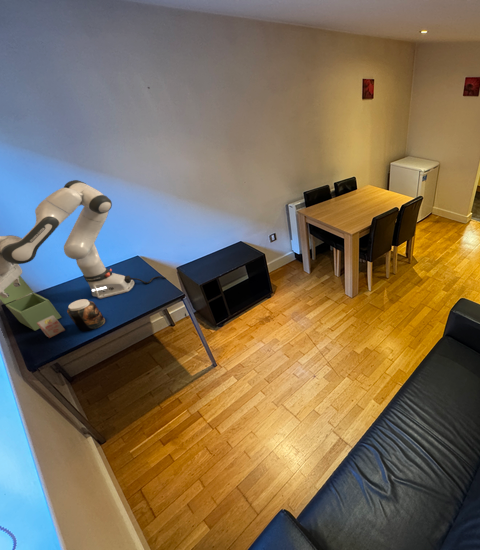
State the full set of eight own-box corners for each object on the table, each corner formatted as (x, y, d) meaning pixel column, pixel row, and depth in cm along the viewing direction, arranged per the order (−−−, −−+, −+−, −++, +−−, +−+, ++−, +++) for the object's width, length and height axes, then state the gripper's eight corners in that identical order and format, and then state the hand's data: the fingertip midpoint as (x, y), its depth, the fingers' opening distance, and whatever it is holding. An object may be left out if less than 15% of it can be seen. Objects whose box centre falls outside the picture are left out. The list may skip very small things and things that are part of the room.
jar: (75, 334, 157) (59, 313, 149) (83, 320, 166) (68, 300, 158) (102, 328, 161) (88, 307, 153) (108, 315, 170) (95, 295, 162)
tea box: (61, 317, 168) (48, 299, 161) (34, 330, 159) (19, 312, 152) (47, 309, 173) (33, 292, 166) (20, 322, 164) (5, 304, 157)
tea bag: (46, 335, 156) (34, 321, 150) (61, 327, 161) (51, 314, 155) (49, 338, 155) (38, 324, 149) (65, 330, 160) (54, 316, 154)
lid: (12, 266, 158) (9, 266, 160) (-19, 278, 149) (-23, 277, 151) (33, 292, 166) (30, 291, 168) (4, 304, 157) (1, 303, 159)
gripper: (-10, 279, 131) (7, 303, 138) (17, 257, 147) (31, 279, 154) (-30, 280, 129) (-11, 305, 136) (0, 258, 145) (16, 281, 152)
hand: (12, 291), depth 145 cm, fingers open, 8 cm apart
